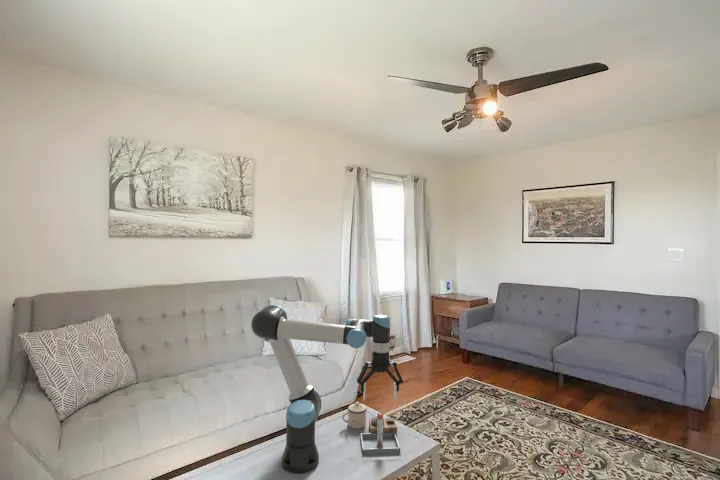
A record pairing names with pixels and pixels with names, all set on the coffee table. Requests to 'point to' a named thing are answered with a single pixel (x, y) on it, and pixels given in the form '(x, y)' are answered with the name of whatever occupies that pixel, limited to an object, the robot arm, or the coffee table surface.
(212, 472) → the coffee table surface
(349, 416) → the teacup with lid
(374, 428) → the tan wooden block
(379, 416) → the pin
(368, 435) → the tray
